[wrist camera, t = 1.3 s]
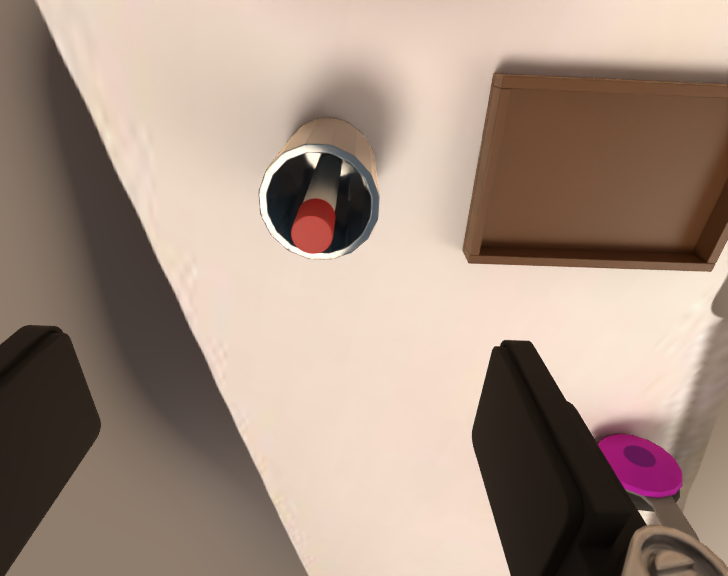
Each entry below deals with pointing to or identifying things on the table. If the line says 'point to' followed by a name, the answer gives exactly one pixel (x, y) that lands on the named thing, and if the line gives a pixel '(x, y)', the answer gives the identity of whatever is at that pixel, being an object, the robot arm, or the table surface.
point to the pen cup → (294, 175)
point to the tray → (601, 174)
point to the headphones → (648, 477)
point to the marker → (318, 208)
